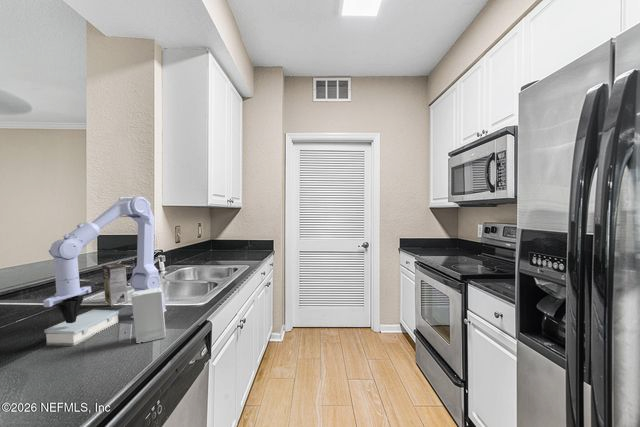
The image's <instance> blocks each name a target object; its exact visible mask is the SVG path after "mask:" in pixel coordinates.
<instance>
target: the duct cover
mask: <svg viewBox="0 0 640 427" xmlns="http://www.w3.org/2000/svg"><path fill="white" fill-rule="evenodd" d="M116 314H118V315H119V314H120V311H119V310H111V309H109V310H108V309H91V310H89V311H87V312H84V313H81V314H78V315H77V318H76V322H74V323H66V321H65V320H64V321H63V322H62V321H61V322H60V323H57V324H55V325H53V326H49V327H47V328H46V329H44V334H47V333H59V334H76V333H78V332H80V331H82V330H84V329H86V328H89V327H91V326H93V325H95V324H97V323H99V322H101V321H103V320H105V319H107V318H109V317H111V316H114V315H116Z"/></svg>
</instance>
